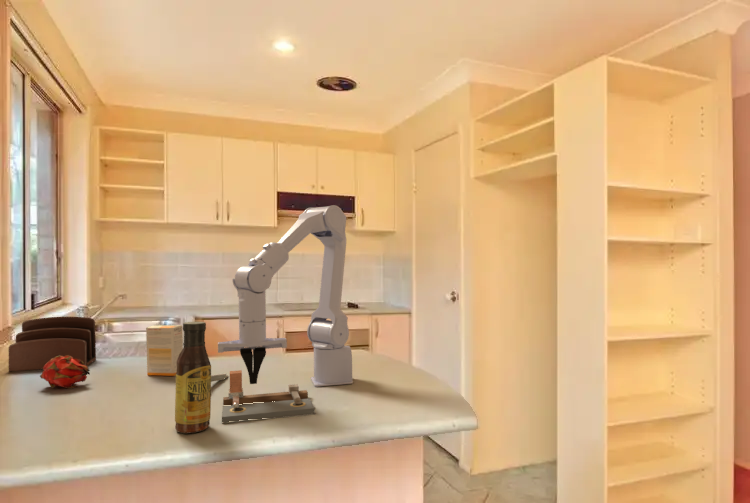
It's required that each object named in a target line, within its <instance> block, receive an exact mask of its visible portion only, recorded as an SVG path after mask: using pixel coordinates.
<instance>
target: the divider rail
mask: <svg viewBox="0 0 750 503" xmlns="http://www.w3.org/2000/svg"><path fill="white" fill-rule="evenodd" d="M308 396H309V393H308V390H307V389H303V390H300V388H299V384H298V383H297V384H295V383H294V384H289V385H288V391H282V392H281V391H280V392H269V393H259V394H247V395H246V394H243V398H239V404H243V403H253V402H272V401H273V402H274V401H286V400H294V402H295V404H301V399H308V398H309V397H308ZM222 400H223V402H222V405H233V398H232V399H229V396H224V397H223V398H222Z"/></svg>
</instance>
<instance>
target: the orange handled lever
mask: <svg viewBox="0 0 750 503" xmlns="http://www.w3.org/2000/svg"><path fill="white" fill-rule="evenodd" d="M243 396H244V387H243V372H242V369H241V370H229V389H228V397H229V399H232V398H233V408H234V409H237V408H239V398H243Z"/></svg>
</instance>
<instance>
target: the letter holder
mask: <svg viewBox="0 0 750 503" xmlns="http://www.w3.org/2000/svg"><path fill="white" fill-rule="evenodd" d="M96 343H97V342H96V320H95V319H94V318H91V317H84V316H51V317H39V318H34V319H33V318H32V319H28V320H24V321H23V322H21V331H20V332H17V333H16V335H15V342H14V343H10V345H9V346H8V372H23V371H38V370H39V371H41V370H42V371H43V370H44V369H43V367H44V366H45V364H46V363H47V362H49V361H50V360H51V359H52V358H55V357H56V356H59V355H61V356H63V357H64V356H66V355H69V356H71V357H73V359H80V360H81V361H83V362H84V365H85V366H87V367H88V366H89V365H91V364H92V363H94V362H95V361H96V360H97V350H96V348H97V347H96V346H97V344H96ZM81 365H82V364H81Z"/></svg>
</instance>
